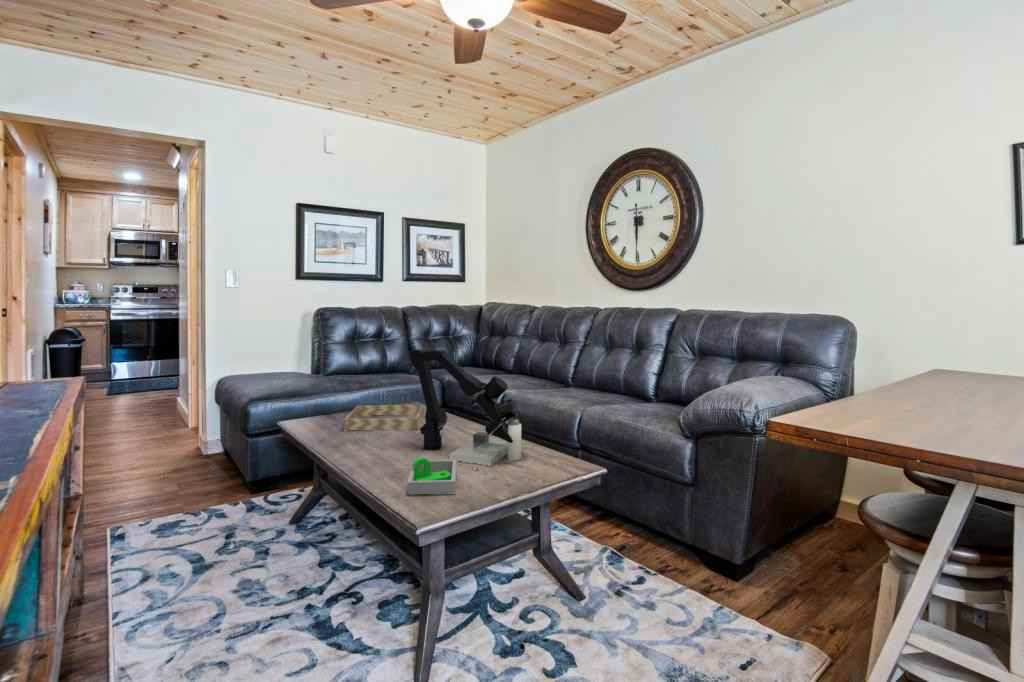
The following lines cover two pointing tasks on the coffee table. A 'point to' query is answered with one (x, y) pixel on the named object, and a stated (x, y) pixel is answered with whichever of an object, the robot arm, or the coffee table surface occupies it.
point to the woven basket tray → (384, 424)
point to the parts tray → (434, 485)
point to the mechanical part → (428, 471)
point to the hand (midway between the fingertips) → (516, 438)
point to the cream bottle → (514, 440)
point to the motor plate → (481, 450)
